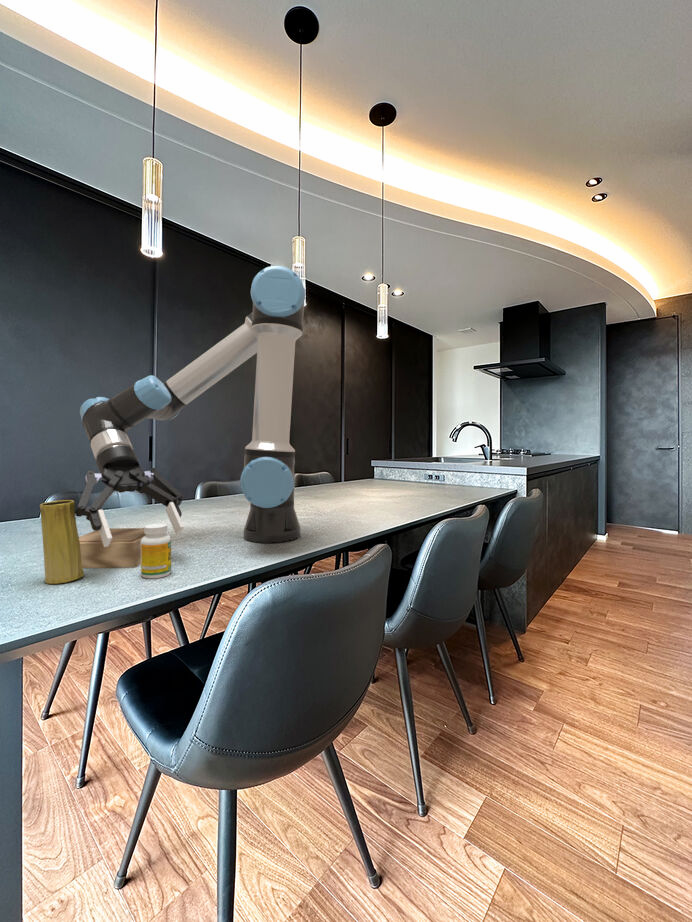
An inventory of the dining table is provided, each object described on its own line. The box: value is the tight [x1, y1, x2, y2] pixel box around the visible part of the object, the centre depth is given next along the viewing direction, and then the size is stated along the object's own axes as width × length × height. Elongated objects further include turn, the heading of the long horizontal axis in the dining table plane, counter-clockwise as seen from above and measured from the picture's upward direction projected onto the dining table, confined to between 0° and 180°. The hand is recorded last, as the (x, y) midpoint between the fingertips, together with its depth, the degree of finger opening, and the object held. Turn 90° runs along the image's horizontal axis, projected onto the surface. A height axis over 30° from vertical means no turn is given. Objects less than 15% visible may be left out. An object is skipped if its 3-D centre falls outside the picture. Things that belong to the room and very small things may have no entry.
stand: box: [79, 527, 146, 569], centre depth 91 cm, size 14×14×5 cm
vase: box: [39, 499, 85, 585], centre depth 77 cm, size 6×6×14 cm
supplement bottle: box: [140, 523, 172, 580], centre depth 80 cm, size 5×5×10 cm
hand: (146, 536), depth 80 cm, fingers open, 13 cm apart
